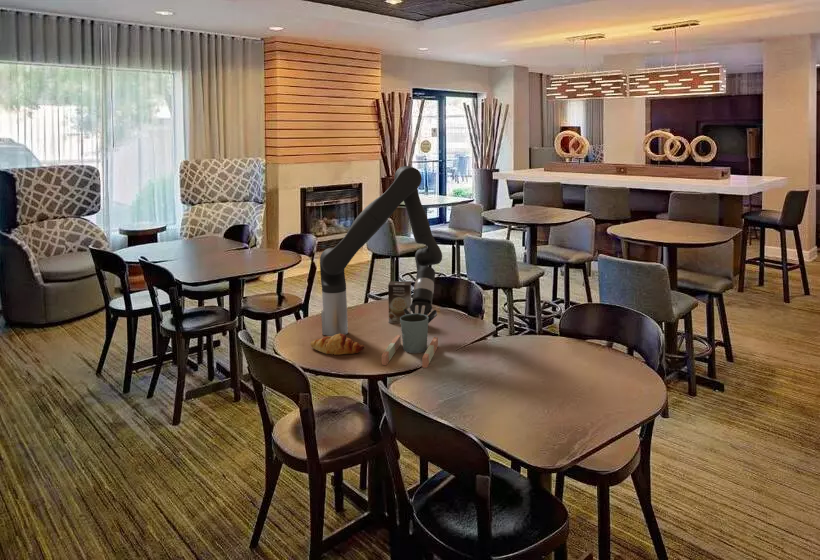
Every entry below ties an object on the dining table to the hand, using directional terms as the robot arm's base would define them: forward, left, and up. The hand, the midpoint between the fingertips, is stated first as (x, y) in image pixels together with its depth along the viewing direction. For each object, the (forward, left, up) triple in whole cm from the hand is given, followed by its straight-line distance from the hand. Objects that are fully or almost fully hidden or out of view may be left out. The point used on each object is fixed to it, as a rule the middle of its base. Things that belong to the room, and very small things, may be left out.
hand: (417, 333), depth 245 cm
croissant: (-27, -11, -5) cm, 30 cm away
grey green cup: (0, -5, -5) cm, 7 cm away
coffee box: (-13, +28, -5) cm, 31 cm away
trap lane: (0, -12, -4) cm, 13 cm away
